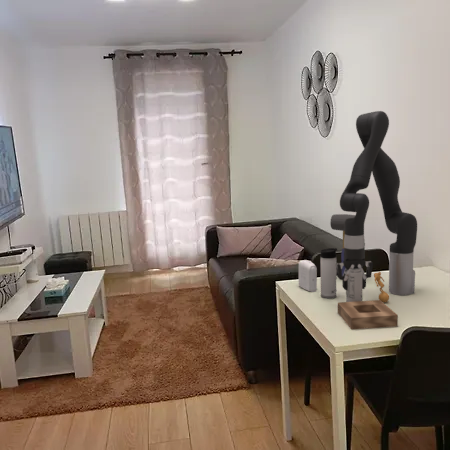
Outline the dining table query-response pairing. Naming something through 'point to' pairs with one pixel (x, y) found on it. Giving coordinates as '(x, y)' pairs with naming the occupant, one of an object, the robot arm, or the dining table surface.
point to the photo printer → (307, 275)
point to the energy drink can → (354, 286)
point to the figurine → (383, 295)
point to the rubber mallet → (339, 224)
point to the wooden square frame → (367, 314)
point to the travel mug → (328, 273)
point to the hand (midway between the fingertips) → (354, 288)
